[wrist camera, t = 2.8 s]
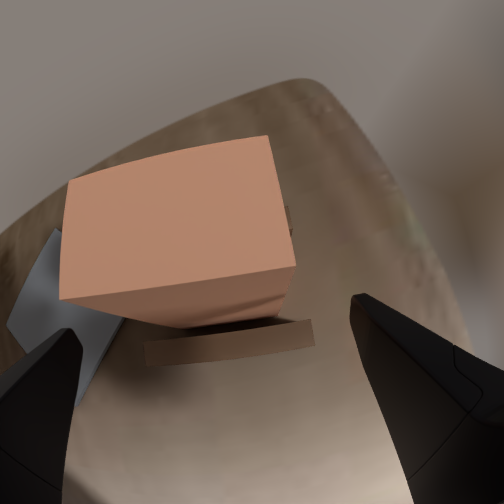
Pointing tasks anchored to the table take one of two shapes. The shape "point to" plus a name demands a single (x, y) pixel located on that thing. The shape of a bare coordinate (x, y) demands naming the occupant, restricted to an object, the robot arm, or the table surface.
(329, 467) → the table surface
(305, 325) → the slot holder
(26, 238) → the table surface
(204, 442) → the table surface
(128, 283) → the thick orange-brown block
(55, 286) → the slate mat
